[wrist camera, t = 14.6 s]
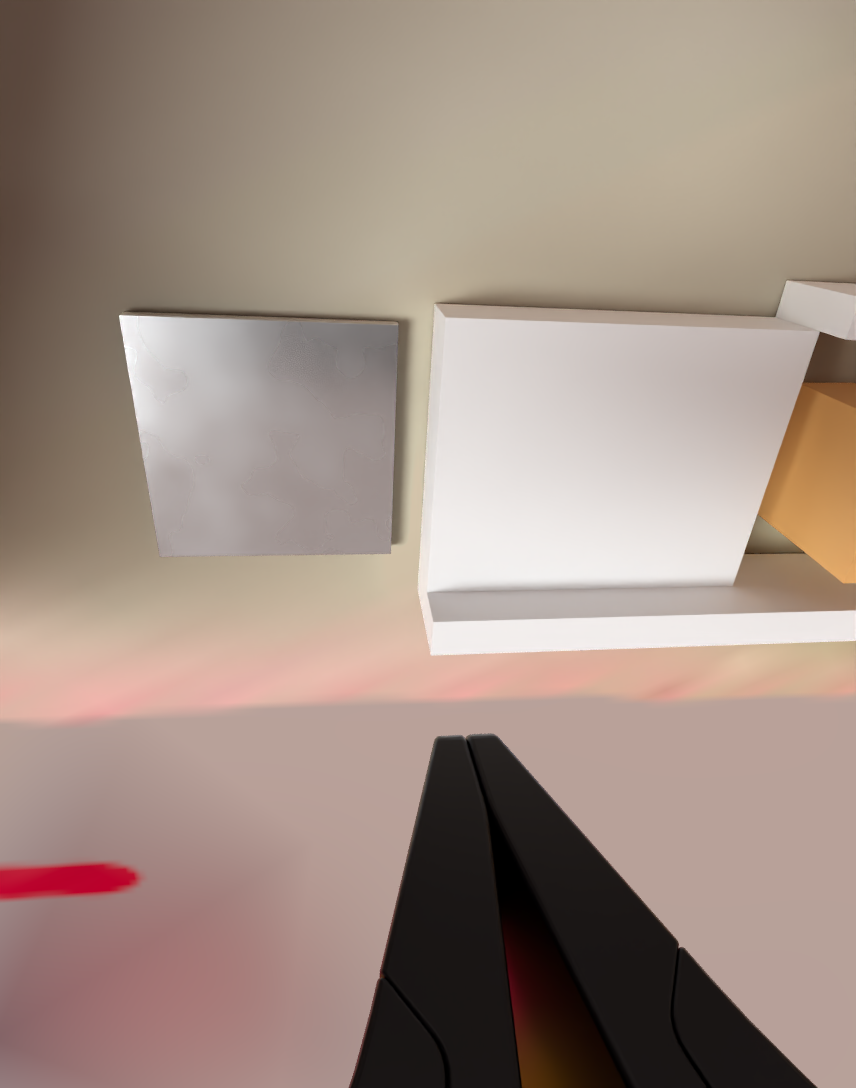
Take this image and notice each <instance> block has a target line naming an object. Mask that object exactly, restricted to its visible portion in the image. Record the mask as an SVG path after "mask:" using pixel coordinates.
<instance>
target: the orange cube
mask: <svg viewBox="0 0 856 1088" xmlns="http://www.w3.org/2000/svg"><path fill="white" fill-rule="evenodd" d="M758 515H759V516H760V517H762V518H763V519H764V520H765V521H767V522H768V523H769V524H770V525H772V526H773V527H774V528H775V529H777V530H778V531H779V532H780V533H782V534H783V535H784V536H785V537H786V538H788V539H789V540H790V541H791V542H793V543H794V544H795V545H796V546H798V547H799V548H800V549H801V550H803V551H804V552H805V553H806V554H807V555H809V556H810V557H811V558H812V559H814V560H815V561H816V562H817V563H819V564H820V565H821V566H822V567H824V568H825V569H826V570H827V571H829V572H830V573H831V574H832V575H833V576H835V577H836V578H837V579H838V580H840V581H841V582H842V583H843V584H844V583H856V383H802V385H801V388H800V391H799V394H798V397H797V400H796V403H795V406H794V409H793V412H792V415H791V417H790V420H789V423H788V426H787V429H786V432H785V435H784V438H783V441H782V444H781V447H780V450H779V452H778V455H777V458H776V461H775V464H774V467H773V470H772V473H771V476H770V479H769V482H768V485H767V487H766V490H765V493H764V496H763V499H762V502H761V505H760V508H759V511H758Z"/></svg>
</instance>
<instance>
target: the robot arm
mask: <svg viewBox="0 0 856 1088" xmlns="http://www.w3.org/2000/svg"><path fill="white" fill-rule="evenodd" d="M678 946H679V943H678V941H677V940H676V938H675V937H674V936H673V935H672V934H671V933H670V931H669V930H668V929H667V928H666V927H665V926H664V925H663V923H662V922H661V921H660V920H659V919H658V918H657V917H656V916H655V914H654V913H653V912H652V911H651V910H650V909H649V908H648V907H647V905H646V904H645V903H644V902H643V901H642V900H641V898H640V897H639V896H638V895H637V894H636V893H635V892H634V890H633V889H631V887H630V886H629V885H628V884H627V883H626V882H625V880H624V879H623V878H622V877H621V876H620V875H619V874H618V872H617V871H616V870H615V869H614V868H613V867H612V866H611V864H610V863H609V862H608V861H607V860H606V859H605V858H604V856H603V855H602V854H601V853H600V852H599V851H598V850H597V848H596V847H595V846H594V845H593V844H592V843H591V842H590V840H589V839H588V838H587V837H586V836H585V835H584V834H583V833H582V831H581V830H580V829H579V828H578V827H577V826H576V825H575V823H574V822H573V821H572V820H571V819H570V818H569V817H568V815H567V814H566V813H565V812H564V811H563V810H562V809H561V808H560V806H559V805H558V804H557V803H556V802H555V801H554V800H553V798H552V797H551V796H550V795H549V794H548V793H547V792H546V790H544V788H543V787H542V786H541V785H540V784H539V783H538V781H537V780H536V779H535V778H534V777H533V776H532V775H531V773H529V771H528V770H527V769H526V768H525V767H524V765H523V764H522V763H521V762H520V761H519V760H518V759H517V758H516V756H515V755H514V754H513V753H512V752H511V751H510V750H509V749H508V747H507V746H506V745H505V744H504V743H503V742H502V740H500V738H499V737H498V736H496V735H495V734H472V735H468V736H467V737H466V739H465V738H464V737H463V736H462V735H453V736H438V737H437V738H436V739H435V741H434V744H433V748H432V753H431V757H430V761H429V766H428V770H427V774H426V779H425V782H424V786H423V791H422V795H421V799H420V803H419V808H418V812H417V816H416V821H415V825H414V829H413V833H412V838H411V842H410V846H409V850H408V854H407V859H406V863H405V868H404V871H403V876H402V880H401V884H400V888H399V893H398V897H397V901H396V905H395V910H394V914H393V918H392V923H391V927H390V931H389V935H388V940H387V944H386V948H385V952H384V956H383V961H382V965H381V969H380V978H379V979H378V981H377V984H376V989H375V993H374V997H373V1001H372V1006H371V1010H370V1014H369V1018H368V1022H367V1026H366V1029H365V1033H364V1037H363V1040H362V1044H361V1048H360V1052H359V1055H358V1059H357V1063H356V1066H355V1070H354V1073H353V1076H352V1079H351V1082H350V1085H349V1088H817V1087H816V1086H815V1085H814V1084H813V1083H812V1082H811V1081H810V1080H809V1079H808V1078H807V1077H806V1076H805V1075H804V1074H803V1073H802V1072H801V1071H800V1070H799V1069H798V1068H797V1067H796V1066H795V1065H794V1064H793V1063H792V1062H791V1061H790V1060H789V1059H788V1058H787V1057H786V1056H785V1055H784V1054H783V1053H782V1052H781V1051H780V1050H779V1049H778V1048H777V1047H776V1046H775V1045H774V1044H773V1043H772V1042H771V1041H770V1040H769V1039H768V1038H767V1037H766V1036H765V1035H764V1034H763V1033H762V1032H761V1031H760V1030H759V1029H758V1028H757V1027H756V1026H755V1025H754V1024H753V1023H752V1022H751V1021H750V1020H749V1019H748V1018H747V1017H746V1016H745V1015H744V1014H743V1012H742V1011H741V1010H740V1009H739V1008H738V1007H737V1006H736V1005H735V1004H734V1003H733V1002H732V1001H731V999H730V998H729V997H728V996H727V995H726V994H725V993H724V992H723V991H722V990H721V989H720V987H718V985H717V984H716V983H715V982H714V981H713V980H712V979H711V978H710V977H709V975H708V974H707V973H706V972H705V971H704V970H703V969H702V967H701V966H700V965H699V964H698V963H697V962H696V961H695V960H694V958H693V957H692V956H691V955H690V954H689V953H688V951H687V950H686V949H685V948H683V947H680V948H679V949H678Z"/></svg>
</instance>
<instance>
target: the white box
mask: <svg viewBox="0 0 856 1088" xmlns="http://www.w3.org/2000/svg"><path fill="white" fill-rule="evenodd" d="M820 332H823V333H826V334H830V335H833V336H836V337H839V338H842V339H845V340H856V284H853V283H833V282H812V281H792V280H787V281H786V284H785V288H784V291H783V294H782V297H781V301H780V304H779V307H778V310H777V314H776V317H760V316H735V315H710V314H685V313H660V312H635V311H611V310H586V309H561V308H536V307H511V306H486V305H461V304H436V303H435V306H434V323H433V340H432V357H431V374H430V391H429V407H428V424H427V441H426V458H425V475H424V492H423V509H422V525H421V542H420V559H419V576H418V593H419V598H420V603H421V608H422V613H423V618H424V623H425V628H426V633H427V638H428V643H429V648H430V653H431V655H457V654H486V653H515V652H543V651H572V650H601V649H630V648H659V647H688V646H716V645H745V644H774V643H803V642H832V641H856V583H844V584H843V583H842V582H841V581H840V580H838V579H837V578H836V577H835V576H833V575H832V574H831V573H830V572H829V571H827V570H826V569H825V568H824V567H822V566H821V565H820V564H819V563H817V562H816V561H815V560H814V559H812V558H811V557H810V556H809V555H807V554H806V553H796V554H744V552H745V549H746V546H747V543H748V540H749V537H750V534H751V531H752V528H753V525H754V522H755V520H756V517H757V514H758V511H759V508H760V505H761V502H762V499H763V496H764V493H765V490H766V487H767V485H768V482H769V479H770V476H771V473H772V470H773V467H774V464H775V461H776V458H777V455H778V452H779V450H780V447H781V444H782V441H783V438H784V435H785V432H786V429H787V426H788V423H789V420H790V417H791V415H792V412H793V409H794V406H795V403H796V400H797V397H798V394H799V391H800V388H801V385H802V382H803V380H804V377H805V374H806V371H807V368H808V365H809V362H810V359H811V356H812V353H813V350H814V347H815V345H816V342H817V339H818V336H819V333H820Z"/></svg>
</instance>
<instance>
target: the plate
mask: <svg viewBox="0 0 856 1088" xmlns="http://www.w3.org/2000/svg"><path fill="white" fill-rule="evenodd" d="M119 319H120V325H121V330H122V336H123V342H124V348H125V354H126V360H127V366H128V372H129V378H130V384H131V390H132V396H133V401H134V407H135V413H136V419H137V425H138V431H139V437H140V443H141V449H142V455H143V461H144V467H145V473H146V478H147V484H148V490H149V496H150V502H151V508H152V514H153V520H154V526H155V532H156V538H157V544H158V549H159V555H160V557H181V556H258V555H335V554H391V533H392V504H393V474H394V445H395V415H396V386H397V356H398V327H399V325H398V323H397V321H372V320H344V319H316V318H288V317H261V316H233V315H205V314H177V313H150V312H123V313H122V314H120V315H119Z"/></svg>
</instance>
